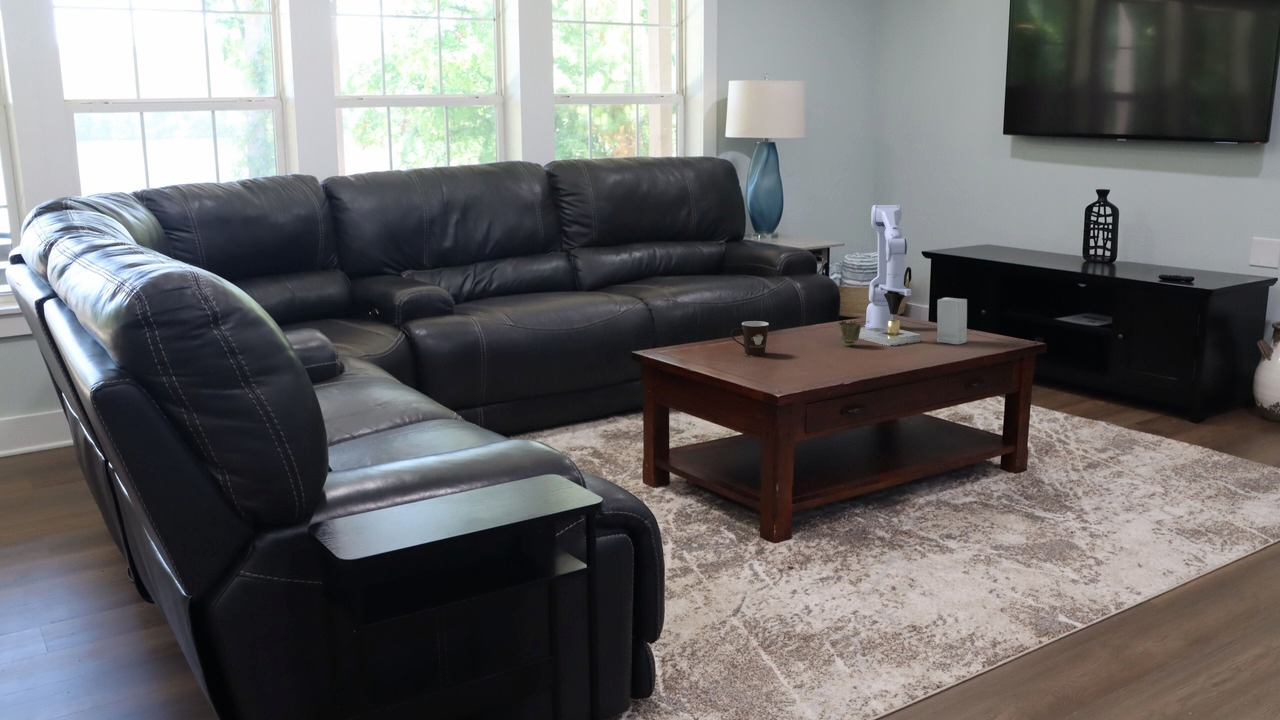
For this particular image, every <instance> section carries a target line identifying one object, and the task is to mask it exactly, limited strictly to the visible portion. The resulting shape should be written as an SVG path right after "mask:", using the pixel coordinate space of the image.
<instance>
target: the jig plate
mask: <svg viewBox="0 0 1280 720" xmlns="http://www.w3.org/2000/svg"><path fill="white" fill-rule="evenodd" d="M921 337H922V335H921V334H920V333H915V332H912V331H908V330H904V329H900V328H899V335H896V336H890V335H887V326H883V325H878V326H870V327H864V326H863V327H862V326H861V329H860V335H859V338H858V339H860V340H863V339H864V341H868V342H872V343H876V344H879V345H882V344H883V346H886V345H887V347H892V346H891V345H893V346H898V344H900V345H906V343H908V344H913V343H914V342H915V343H921V340H922V338H921Z"/></svg>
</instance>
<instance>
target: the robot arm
mask: <svg viewBox="0 0 1280 720" xmlns="http://www.w3.org/2000/svg"><path fill="white" fill-rule="evenodd" d="M870 214H871V219H870V221H871V223H870V224H871V229H873V230H874V231H876V235H877V276H876V277H874V278H873V279H872V280H871V281H870V282H869V288H868V301H869V302H870V303H868V306H867V307H866V312H865V313H866V315H865V324H864V325H863V327H864V326H865V327H870V326H878V325H883V326H887V325H888V320H894V315H898V312H899V309H900V306H901V304H902V301H903V299H904V298H905V297H910V296H912V289H910V288H907V287H906V286H905V285H904V284H905V283H904V282H905V265H906V264H905V263H906V256H907V252H908V239H907V237H905V236H903V233H902V228H901V227H900V226H899V225H900V223H901V220H902V206H901V205H900V204H873V205H872V206H871V213H870Z"/></svg>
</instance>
